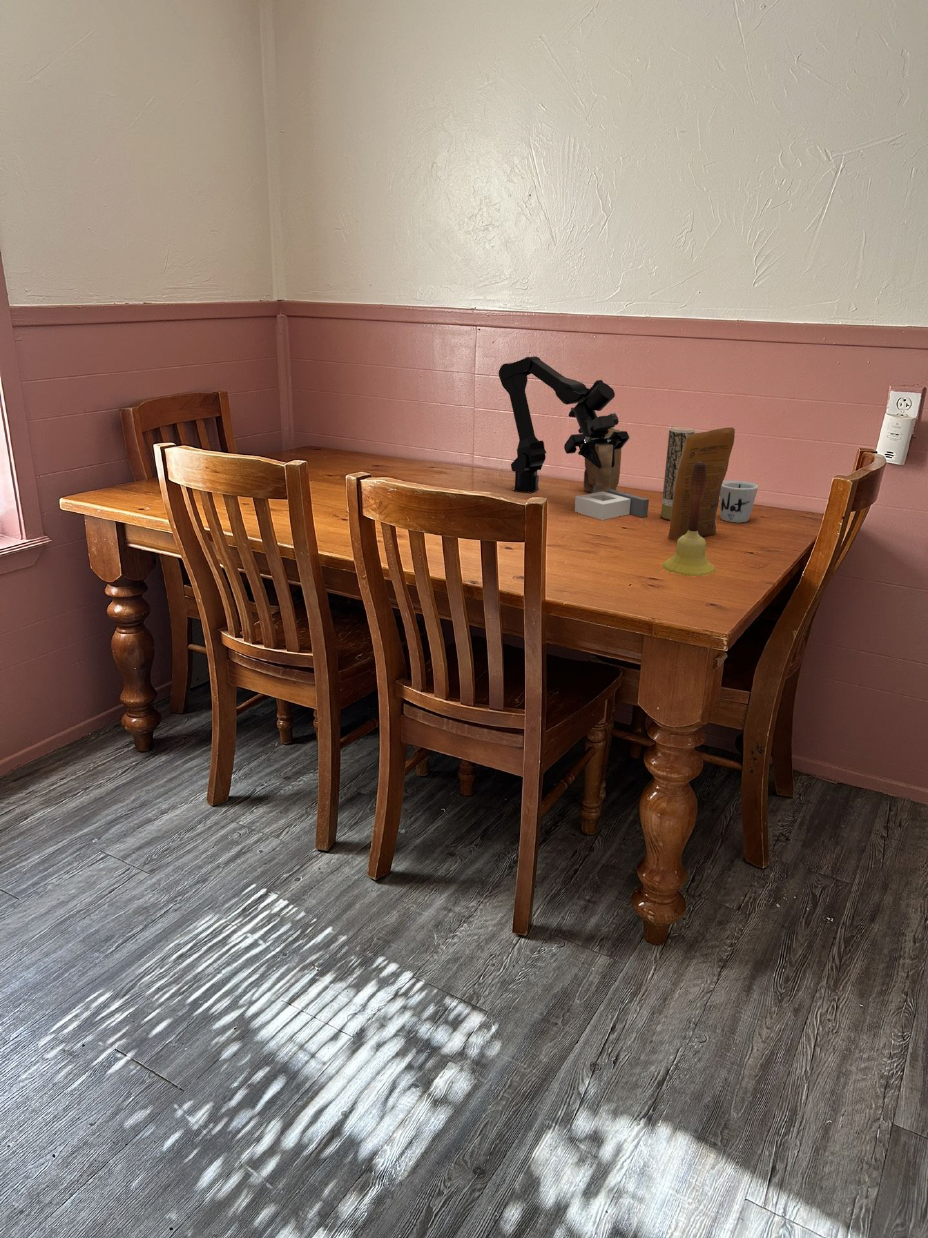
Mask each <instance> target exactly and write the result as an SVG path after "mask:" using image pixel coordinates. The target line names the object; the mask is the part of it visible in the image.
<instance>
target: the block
mask: <svg viewBox="0 0 928 1238" xmlns="http://www.w3.org/2000/svg"><path fill="white" fill-rule="evenodd" d="M608 430H609V432H608V434H606V435H605V437H611V435H612V434H613V433H614V431H621V430H620V429H616V428H615V427H612V428H610V429H608ZM598 446H599V445H595V450H596V452H597V455H598ZM621 461H622V448H621V449H618V450H615V466H614V467H611V479H610V489H613V490H616V489H617V487H618V485H619V482H620V474H621ZM596 474H597V467H596V466H595V465H594V464H593V463H591V462H590V461H589V460H588V459H586V458H585V457H584V474H583V489H584V490H586V491H587V492H589V493H590V494H591V493H593V486H596ZM616 491H617V490H616Z"/></svg>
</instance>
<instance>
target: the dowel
mask: <svg viewBox="0 0 928 1238" xmlns="http://www.w3.org/2000/svg"><path fill="white" fill-rule="evenodd" d="M612 453H613V445H611V444H599V446H598V457H599V460H600V462H601V466H602V467H601V468H600V469H599V468H598V467H597V474H596V488H595V489H596V490H599V491H609V490H610V479H611V466H612Z"/></svg>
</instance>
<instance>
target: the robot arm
mask: <svg viewBox="0 0 928 1238" xmlns="http://www.w3.org/2000/svg"><path fill="white" fill-rule="evenodd" d="M531 374H532V375H533V376H534V377H535V378H537V379H539V381H541V382H542V383H544V384H546V385H547V386H548V387H549V388H551V389H552V391H554V394H555V395H556V397H557V398H558V399H559V400H560V402H562V403H563V404H564V405H574V407H570V411H569V413H568V417H569V418H575V419H576V422H577V424H578V427H579V428H578V434H577V433H575V434H570V436H569V437H568V439H567V440H566V442H565V443H564V446H563V449H564V451H565V453H566V454H567V455H568V454H569V455H570V454H575V453H576V452H577V450H578V449H579V450H578V452H577V454H578V455H579V456H582V457H583V458H584V459H585V458H586V459H588V460H589V461H590V462H591V463H593V464H594V465H595V466H596V467H598V468H599V469H600V468H601V467H602V466H601V462H600V460H599V457H598V455H597V452H596V450H595V445H599V444H611V445H613V453H612V466H611V467H614V466H615V450H618V449H621V450H622V448H623V447H624V446H625V445H626V443H627V442H628V441H629V439H630V435H629V433H628V431H626V430H620V431H614V433H613V434H612V435H611V437H605V435H606V434H608V432H609V430H608V429H610V428H615V427H616V426H617V425H619V422H620V421H619V417H618V415H617V414H616V412H615V413H610V414H608V415H600V416H599V415H597V412H601V411H602V410H603V409H604V408H605V407H606V406H607V405H608V404H609V403H611V401H612V400H613V399H614V398H615V396H616V394H615V390H614V388H612V387H611V386H610V385H609V384H607V383H605V382H604V381H603V379H597V380H595V382H593V385H592V386H590V388H588V387H587V386H586V384H585V383H582V382H581V381H578V380H576V379H572V378H568V377H565V376H564V375H562V374H561V373H559V371H556V370H555V369H554V368H553V367H551V366H550V365H548V364H547V363H546V362H544V360H543V361H542V360H541V358H540V357H538V356H525V357H524V358H522V359H520V360H516V361H514V362H509V363H508V362H506V363H502V364H501V366H500V367H499V370H498V377H499V380H500V382H501V386H502V387H503V389H504V390H505V391H506V393H508V395H509V399H510V404H511V407H512V412H513V416H514V421H515V426H516V431H517V435H518V440H519V441H518V444H517V448H516V453H517V454H516V455H517V456H516V458H515V459H514V460H513V461H512V462H511V464H510V468H511V471H512V472H514V473H515V475H514V477H515V478H514V488H513V489H514V490H517V491H516V492H521V491H526V492H525V493H529V492H532V493H534V492H536V491H537V490H539V477H540V476H539V475H538V471H541V470H542V467H543V464H544V462H545V460H546V458H547V456H546V454H547V451H546V448H545V442H544V440H539V439H538V438H537V437H536V434H535V431H534V430H535V429H534V426H533V422H532V420H533V419H532V416H531V411H530V408H529V407H530V406H529V403H528V397H527V393H526V388H527V384H528V381H529V380H528V379H529V378H528V376H530V375H531ZM575 404H576V405H575ZM596 411H597V412H596ZM577 447H578V449H577Z"/></svg>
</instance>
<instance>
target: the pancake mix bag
mask: <svg viewBox="0 0 928 1238" xmlns="http://www.w3.org/2000/svg"><path fill="white" fill-rule="evenodd" d="M735 430H736V429H735V428H734V427H723V428H716V429H711V430H708V431H701V432H695V433H693V434H689V439H685V442H684V446H683V449H682V453H681V457H680V460H679V464H678V468H677V472H676V478H675V484H674V492H673V502H672V510H671V519H670V520H669V531H668V534H667V535H668V536H667V539H673V540H678V539H679V538H680V537H681V536H683V535H685V534H686V533H687V532H688V528H689V519H690V510H691V499H692V498H691V491H690V485H691V477H692V473H693V470H694V466H695V464H696V462H705V464H706V474H707V479H706V488H705V492H704V494H703V497H702V500H701V507H700V516H699V524H698V534H699V535H700V536H701V537H702V538H703V537H707V536H714V535H715V534H716V531H717V526H716V520H717V519H716V518H717V511H718V507H719V504H720V491H721V486H722V483H723V481H725V477H726V476H727V472H728V469H729V463H730V457H731V453H732V450H733V447H734V443H735V433H736V431H735Z"/></svg>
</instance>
